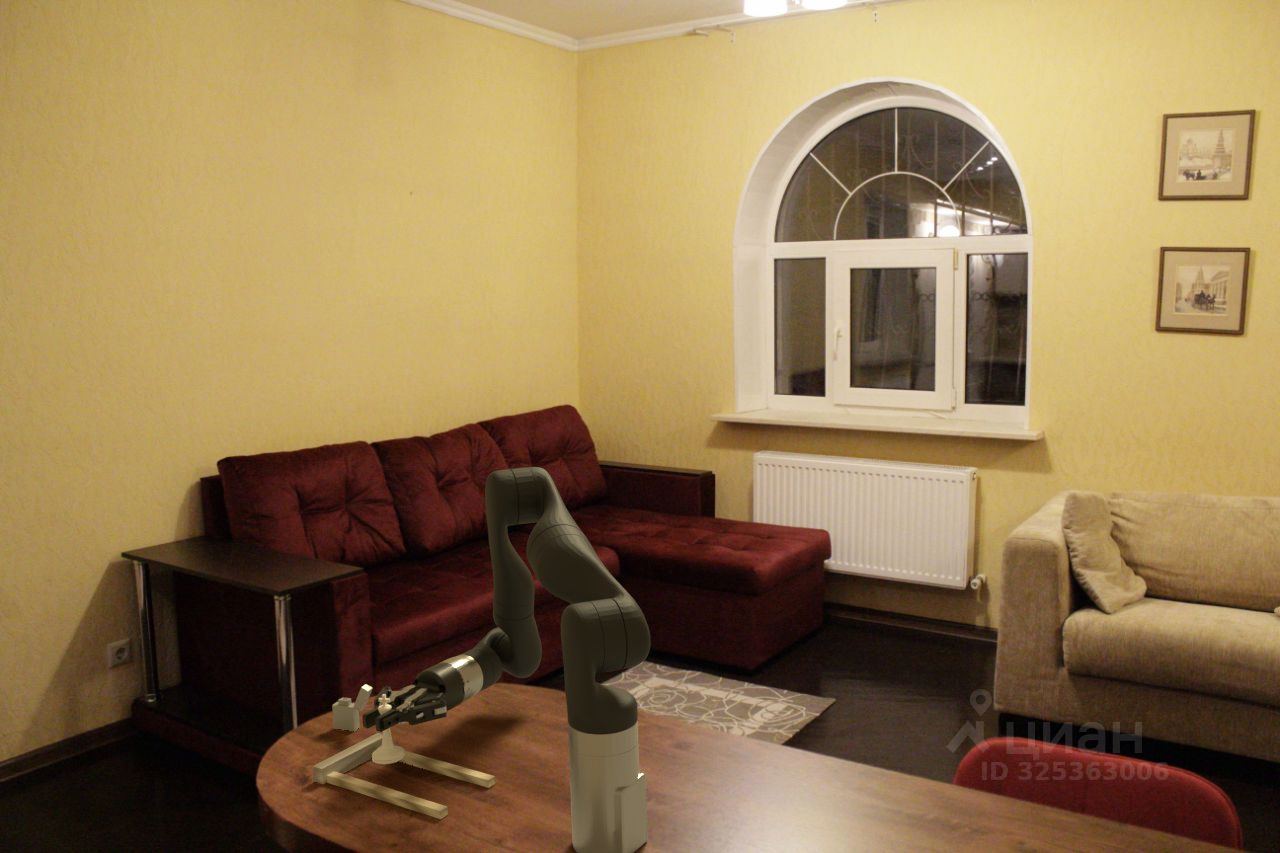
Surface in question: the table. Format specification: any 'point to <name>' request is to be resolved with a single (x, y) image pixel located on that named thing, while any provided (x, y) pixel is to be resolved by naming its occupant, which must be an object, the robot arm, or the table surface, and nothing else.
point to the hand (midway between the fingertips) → (371, 723)
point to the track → (361, 753)
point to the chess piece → (387, 741)
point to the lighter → (350, 710)
